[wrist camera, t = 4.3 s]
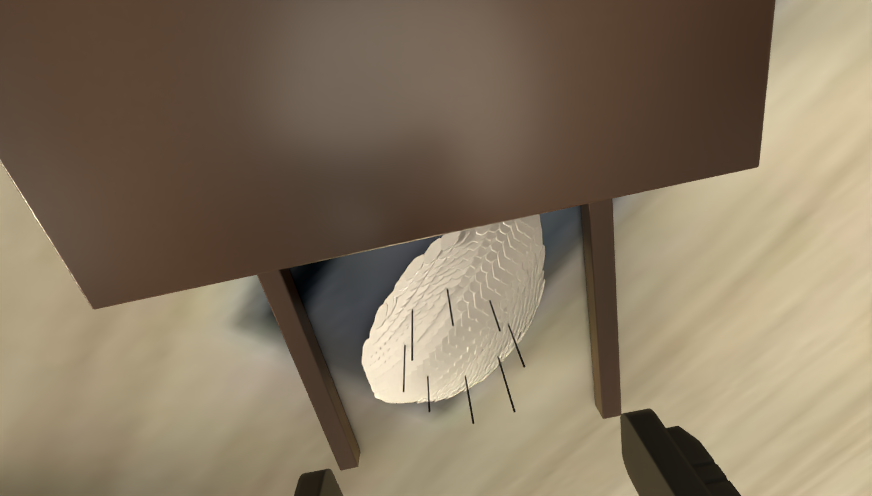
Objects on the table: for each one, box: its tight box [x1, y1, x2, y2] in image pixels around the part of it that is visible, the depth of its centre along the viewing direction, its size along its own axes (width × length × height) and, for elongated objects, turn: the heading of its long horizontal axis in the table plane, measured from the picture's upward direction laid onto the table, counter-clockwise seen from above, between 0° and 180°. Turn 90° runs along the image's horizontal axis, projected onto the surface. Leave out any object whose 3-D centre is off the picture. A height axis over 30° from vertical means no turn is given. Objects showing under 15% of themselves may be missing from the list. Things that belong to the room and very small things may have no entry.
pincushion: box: [362, 214, 545, 424], centre depth 17 cm, size 12×6×6 cm, turn 146°
